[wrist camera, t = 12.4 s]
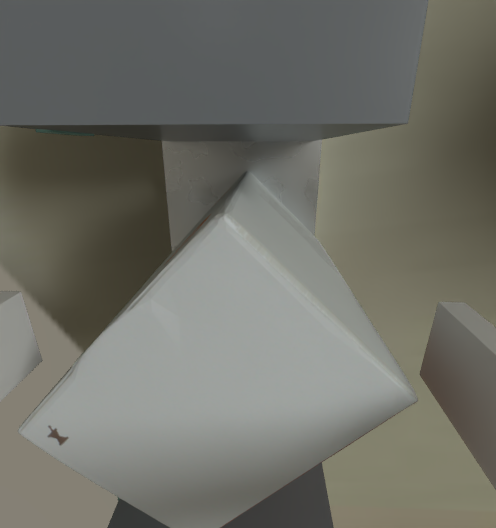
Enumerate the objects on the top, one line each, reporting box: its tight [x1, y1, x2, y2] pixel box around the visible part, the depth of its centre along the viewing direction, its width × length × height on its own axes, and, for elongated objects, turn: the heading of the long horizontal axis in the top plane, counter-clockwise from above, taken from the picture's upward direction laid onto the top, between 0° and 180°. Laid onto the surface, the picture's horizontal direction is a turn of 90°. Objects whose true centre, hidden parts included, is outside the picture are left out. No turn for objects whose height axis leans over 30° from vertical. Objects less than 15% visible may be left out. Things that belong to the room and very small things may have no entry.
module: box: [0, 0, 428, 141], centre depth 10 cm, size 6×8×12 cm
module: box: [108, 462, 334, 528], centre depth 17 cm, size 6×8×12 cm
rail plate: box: [162, 140, 322, 251], centre depth 20 cm, size 26×9×2 cm, turn 0°
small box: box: [18, 171, 418, 528], centre depth 13 cm, size 8×6×13 cm
